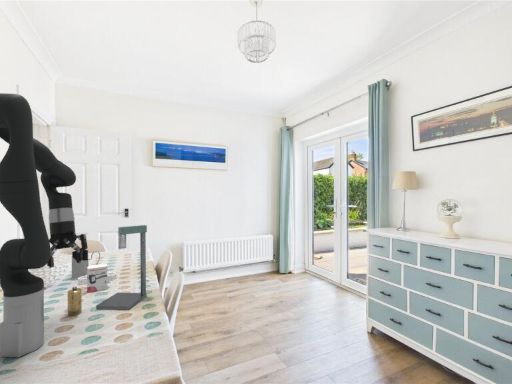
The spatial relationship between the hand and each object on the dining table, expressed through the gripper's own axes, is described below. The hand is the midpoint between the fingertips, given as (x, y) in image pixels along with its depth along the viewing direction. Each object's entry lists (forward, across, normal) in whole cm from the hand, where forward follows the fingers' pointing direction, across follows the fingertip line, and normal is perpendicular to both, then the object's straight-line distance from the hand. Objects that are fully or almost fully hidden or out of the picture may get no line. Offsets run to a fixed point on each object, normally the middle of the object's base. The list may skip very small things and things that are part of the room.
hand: (65, 265), depth 95 cm
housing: (+20, -2, +10) cm, 22 cm away
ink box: (+17, 0, +36) cm, 40 cm away
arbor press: (+21, +15, +15) cm, 29 cm away
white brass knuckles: (+15, -4, +53) cm, 55 cm away
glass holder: (+13, -12, +62) cm, 64 cm away
